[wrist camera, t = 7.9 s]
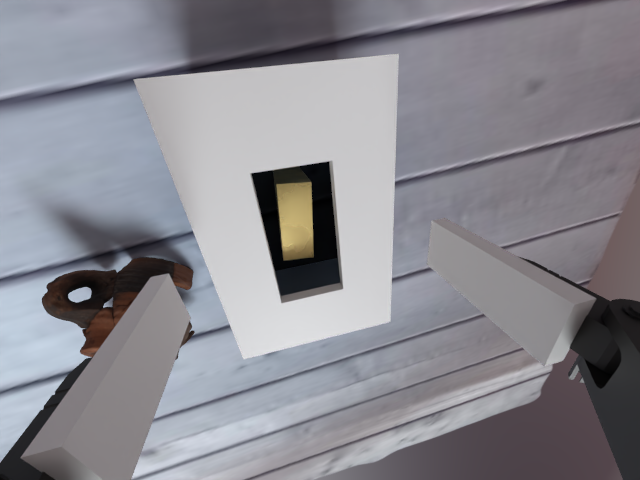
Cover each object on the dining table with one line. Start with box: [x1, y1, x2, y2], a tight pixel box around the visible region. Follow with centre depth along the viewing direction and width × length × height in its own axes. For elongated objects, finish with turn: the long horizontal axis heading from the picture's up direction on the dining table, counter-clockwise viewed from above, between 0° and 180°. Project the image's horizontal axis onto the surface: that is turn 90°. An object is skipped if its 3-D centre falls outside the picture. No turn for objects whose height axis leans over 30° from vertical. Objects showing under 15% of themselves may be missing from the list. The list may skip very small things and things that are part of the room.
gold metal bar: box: [273, 166, 314, 261], centre depth 21 cm, size 2×6×7 cm, turn 1°
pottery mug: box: [42, 257, 194, 360], centre depth 23 cm, size 12×10×8 cm
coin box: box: [133, 54, 399, 359], centre depth 19 cm, size 12×18×10 cm, turn 7°
